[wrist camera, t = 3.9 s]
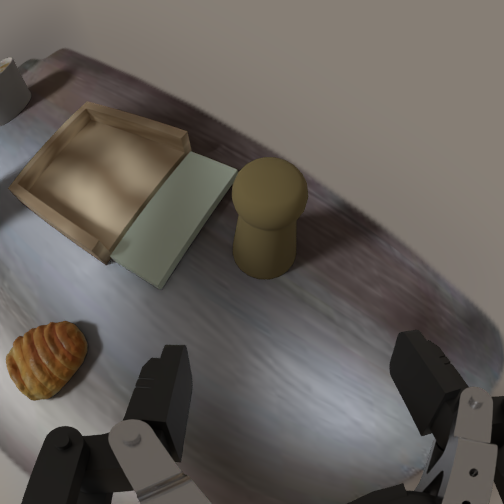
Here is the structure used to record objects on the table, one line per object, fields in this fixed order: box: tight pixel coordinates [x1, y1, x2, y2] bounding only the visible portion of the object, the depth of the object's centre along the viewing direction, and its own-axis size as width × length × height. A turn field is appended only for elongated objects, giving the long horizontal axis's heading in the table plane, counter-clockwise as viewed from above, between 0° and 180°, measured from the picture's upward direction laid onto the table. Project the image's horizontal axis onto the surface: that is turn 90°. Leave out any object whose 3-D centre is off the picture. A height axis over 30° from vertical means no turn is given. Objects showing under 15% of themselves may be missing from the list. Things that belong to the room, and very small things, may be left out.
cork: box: [232, 157, 308, 279], centre depth 25 cm, size 6×6×11 cm
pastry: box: [6, 321, 87, 401], centre depth 23 cm, size 9×7×4 cm
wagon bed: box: [8, 102, 192, 265], centre depth 32 cm, size 16×18×4 cm
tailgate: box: [110, 151, 238, 290], centre depth 30 cm, size 14×1×6 cm
